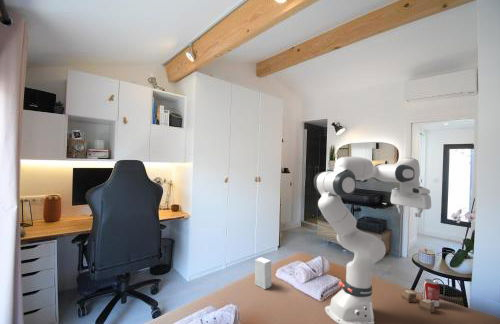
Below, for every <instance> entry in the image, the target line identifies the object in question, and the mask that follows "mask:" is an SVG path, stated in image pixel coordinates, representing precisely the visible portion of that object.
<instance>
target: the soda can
mask: <svg viewBox="0 0 500 324" xmlns="http://www.w3.org/2000/svg"><path fill="white" fill-rule="evenodd" d="M422 286H423V288H422V289H423V291H422V294H423V296H422V298H425V299H428V300H430V301H433V302H434V308H439V307H440V288H441V287H440V285H439V281H436V280H435V279H431V278H430V279H429V278H425V280H424V281H423V285H422Z"/></svg>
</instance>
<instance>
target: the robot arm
mask: <svg viewBox="0 0 500 324" xmlns="http://www.w3.org/2000/svg"><path fill="white" fill-rule="evenodd" d="M420 177H421V169H420V162H419V160H418V159H417V158H413V157H411V158H410V157H404V158H403V157H402V158H401V160H400V161H399V162H397V163H378V164H375V165H374V163H373V162H372V161H371V160H370V159H368V158H364V157H360V156H342V157H339V158H337V159H336V161H335V163H334V168H333V170H331V171H330V170H329V171H326V170H325V171H321V172H318V173H317V174H315V176H314V178H313V186H314V189H315V190H316V194H317V195H318V196H320V198H319V199H318V202H317V206H318V209H319V210H320V212H321V214H322V216H323V217H324V219H325V220H326V222H327V223H328V224H329V225H330V227H332V229H333V230H334V231H335V234H336V241H337V243H338V244H339V245H340V246H341V247H342V248H343V249H346V250H347V251H349V252H351V253H353V255H354V256H353V259H352V260H350V261H349V262H347V263H346V266H345V267H346V268H345V270H346V271H345V280H344V283H343V282H342V281H338V286H340V287H341V290H339V291H338V292H337V293H336V294H335V295H334V296H332V297H331V299H330V303H329V305H327V306H325V307H324V311H325V313H326V315H327V316H328V317H329V318H331V319H332V320H333V321H334V322H335V323H336V324H375V314H374V310H373V302H372V294H373V285H372V275H373V274H372V273H373V268H374V266H375V264H376V263H377V262H378V261H381V260H382V259H383V258H384V257H385V255H386V252H387V251H386V250H387V249H386V244H385V243H384V241H383V240H381V239H380V238H378V237H376V236H375V235H373V234H370V233H367V232H364V231H362V230H360V229H358V227H357V219H356V218H355V216H354V215H353V213H352V212H351V211H350V210H349V209H348V207H347V206H346V205H345V203H344V202H343V200H342V197H348V196H351V195H353V194H354V192H355V191H356V188H357V181H362V180H363V181H365V180H369V179H370V178H371V179H374V180H376V181H377V182H383V183H385V182H386V183H397V184H399V187H393V188H392V189H391V194H390V203H391V204H392V205H396V208H397V210H398V214H404V210H403V209H402V206H403V207H409V208H415V209H416V210H417V212H415V213H414V215H415V216H414V217H416V218H421V216H422V215H421V214H422V213H423V211H424V210H430V209H431V208H432V197H431V195H430V194H431V190H430V189H429V188H426V187H424V186H421V184H420V180H419V179H420Z"/></svg>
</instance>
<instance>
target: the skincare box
mask: <svg viewBox="0 0 500 324" xmlns="http://www.w3.org/2000/svg"><path fill="white" fill-rule="evenodd" d="M254 285H255V286H258V287H259V288H261V289H264V290H266V289H268V288H271V287H272V260H270V259H267V258H264V257H262V256H260V257H257V258H256V259H254Z"/></svg>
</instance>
